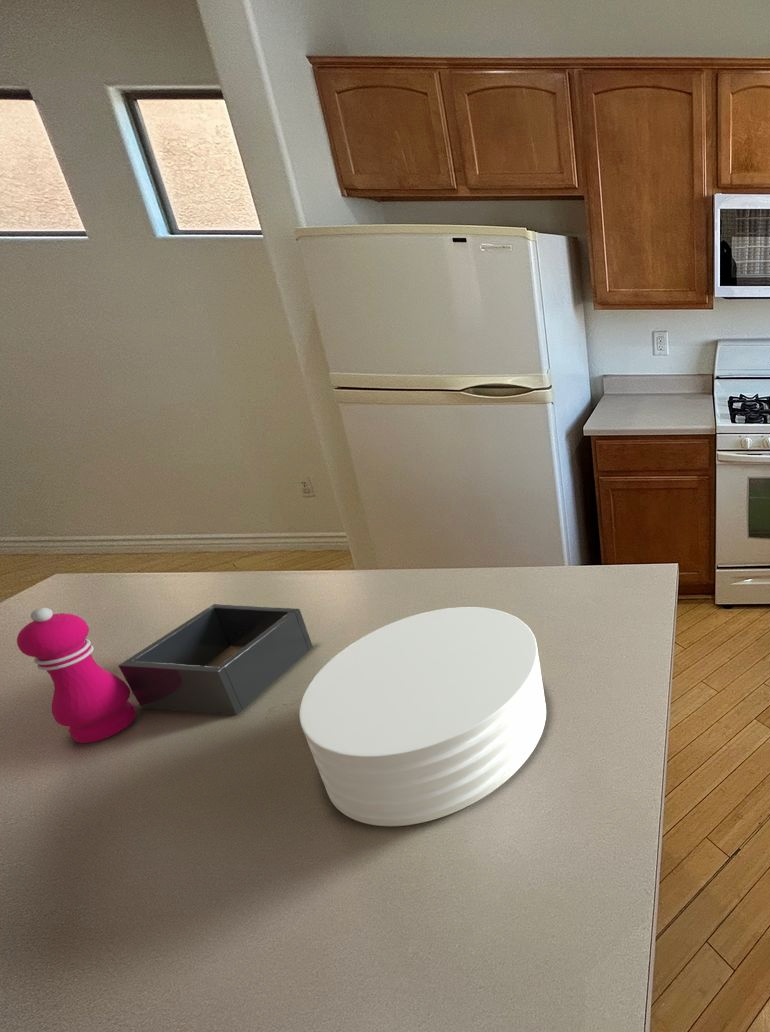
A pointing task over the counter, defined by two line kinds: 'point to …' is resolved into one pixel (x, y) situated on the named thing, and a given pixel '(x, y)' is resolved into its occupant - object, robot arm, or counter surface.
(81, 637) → the pepper mill
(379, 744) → the plate stack
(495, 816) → the counter surface
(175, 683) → the open box
